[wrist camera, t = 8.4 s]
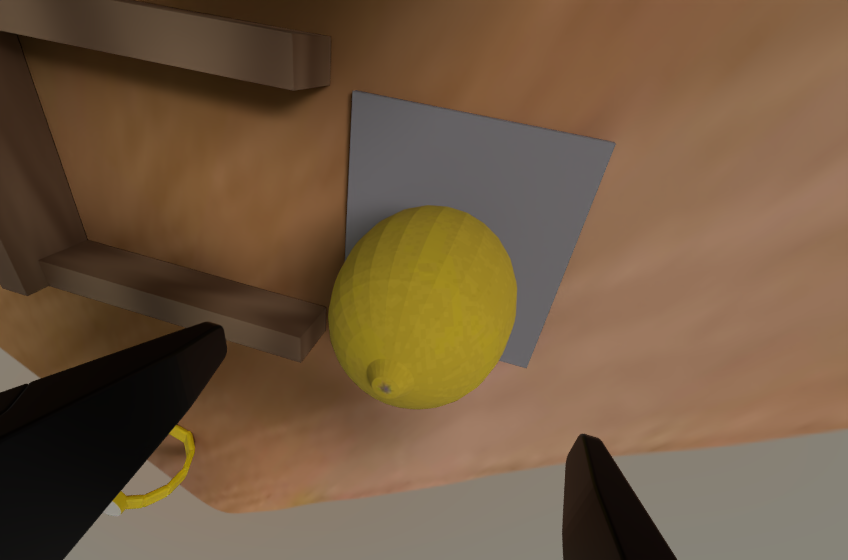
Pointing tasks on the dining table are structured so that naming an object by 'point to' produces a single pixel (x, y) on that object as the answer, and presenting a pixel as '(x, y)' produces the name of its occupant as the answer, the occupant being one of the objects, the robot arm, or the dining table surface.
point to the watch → (141, 501)
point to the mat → (479, 188)
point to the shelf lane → (50, 194)
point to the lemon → (423, 307)
